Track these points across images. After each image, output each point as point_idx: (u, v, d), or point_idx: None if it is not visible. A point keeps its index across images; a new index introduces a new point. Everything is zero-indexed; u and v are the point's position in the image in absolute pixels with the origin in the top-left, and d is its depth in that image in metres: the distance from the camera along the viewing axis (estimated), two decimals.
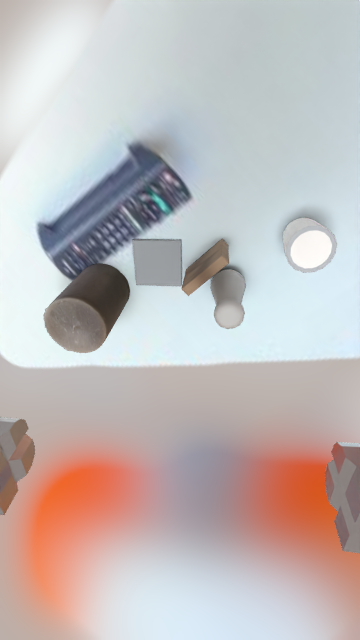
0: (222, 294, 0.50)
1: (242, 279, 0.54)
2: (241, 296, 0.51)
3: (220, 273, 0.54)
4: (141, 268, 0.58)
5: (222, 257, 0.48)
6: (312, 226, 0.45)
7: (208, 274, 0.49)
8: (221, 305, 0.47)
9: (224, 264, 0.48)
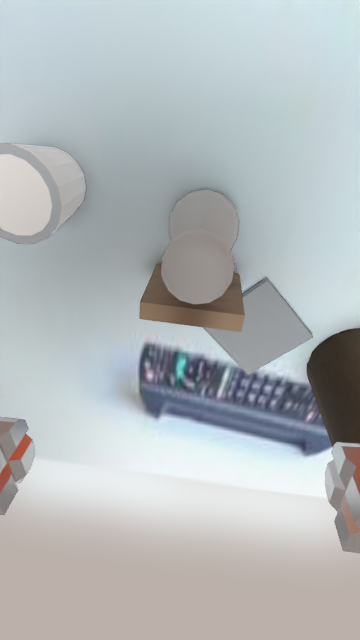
0: None
1: (170, 220, 0.27)
2: (176, 228, 0.23)
3: None
4: (279, 345, 0.35)
5: (141, 315, 0.26)
6: None
7: (182, 314, 0.26)
8: (188, 302, 0.20)
9: (147, 305, 0.26)
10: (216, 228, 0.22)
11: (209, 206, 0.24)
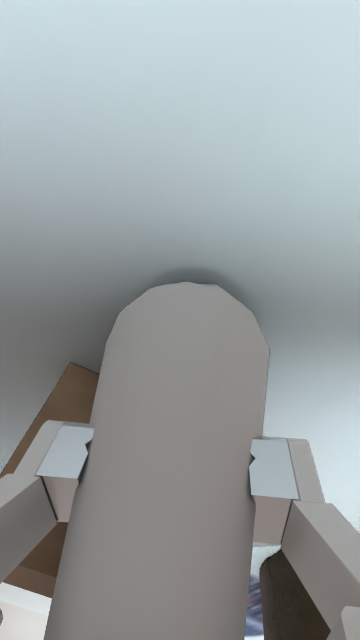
0: None
1: (114, 331, 0.11)
2: (112, 427, 0.07)
3: None
4: None
5: None
6: None
7: None
8: None
9: None
10: (236, 511, 0.06)
11: (226, 377, 0.08)
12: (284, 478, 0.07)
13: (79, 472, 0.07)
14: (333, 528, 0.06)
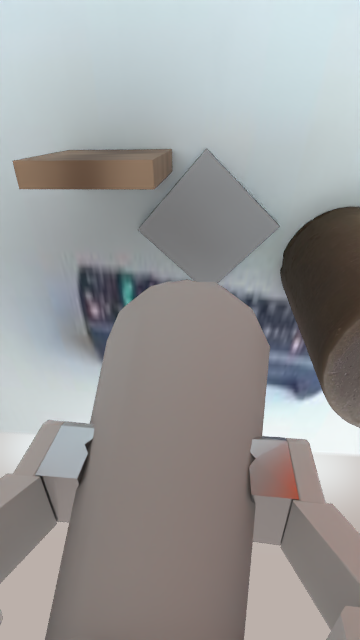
0: None
1: (114, 329, 0.11)
2: (113, 424, 0.07)
3: None
4: (239, 244, 0.27)
5: (21, 184, 0.20)
6: None
7: (71, 173, 0.19)
8: None
9: (24, 165, 0.19)
10: (236, 507, 0.06)
11: (226, 374, 0.08)
12: (284, 478, 0.07)
13: (79, 472, 0.07)
14: (333, 528, 0.06)
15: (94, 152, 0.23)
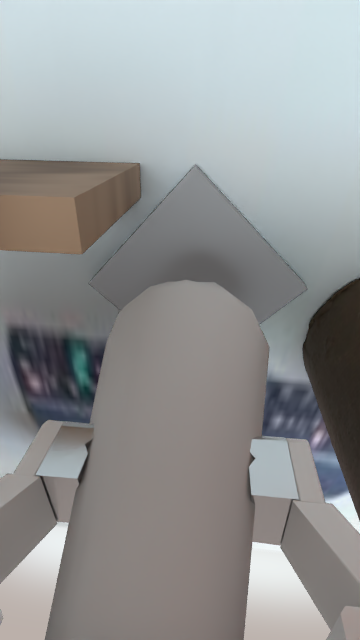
0: None
1: (114, 329, 0.11)
2: (113, 425, 0.07)
3: None
4: None
5: None
6: None
7: None
8: None
9: None
10: (236, 507, 0.06)
11: (225, 375, 0.08)
12: (284, 478, 0.07)
13: (79, 472, 0.07)
14: (333, 528, 0.06)
15: (3, 166, 0.14)
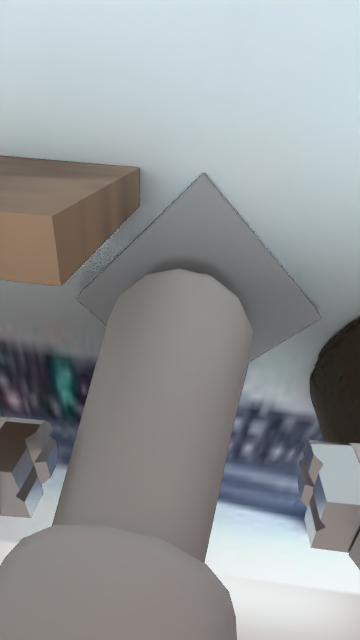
0: None
1: (114, 311, 0.12)
2: (109, 383, 0.09)
3: None
4: None
5: None
6: None
7: None
8: None
9: None
10: (209, 450, 0.08)
11: (208, 347, 0.10)
12: (357, 484, 0.07)
13: (14, 466, 0.07)
14: None
15: None
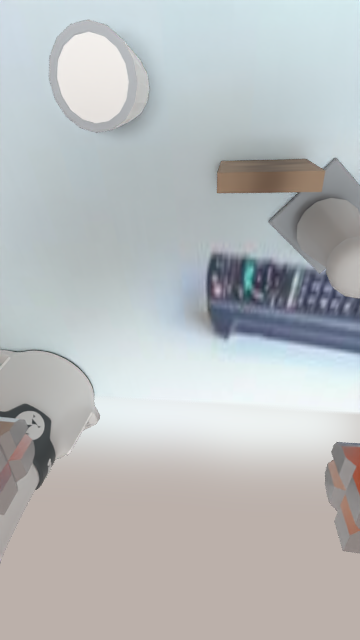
0: None
1: (306, 217, 0.31)
2: (329, 227, 0.27)
3: None
4: None
5: (219, 189, 0.27)
6: (75, 121, 0.27)
7: (260, 181, 0.26)
8: None
9: (225, 176, 0.26)
10: None
11: (356, 217, 0.28)
12: None
13: None
14: None
15: (252, 163, 0.30)
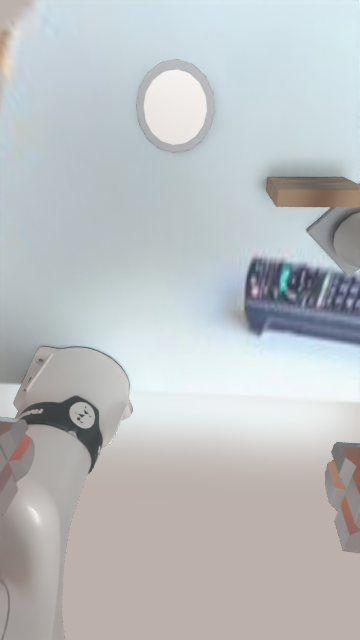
0: None
1: (344, 227, 0.35)
2: None
3: (342, 259, 0.37)
4: None
5: (278, 203, 0.31)
6: (154, 143, 0.31)
7: (314, 197, 0.31)
8: None
9: (284, 192, 0.31)
10: None
11: None
12: None
13: None
14: None
15: (299, 180, 0.35)
